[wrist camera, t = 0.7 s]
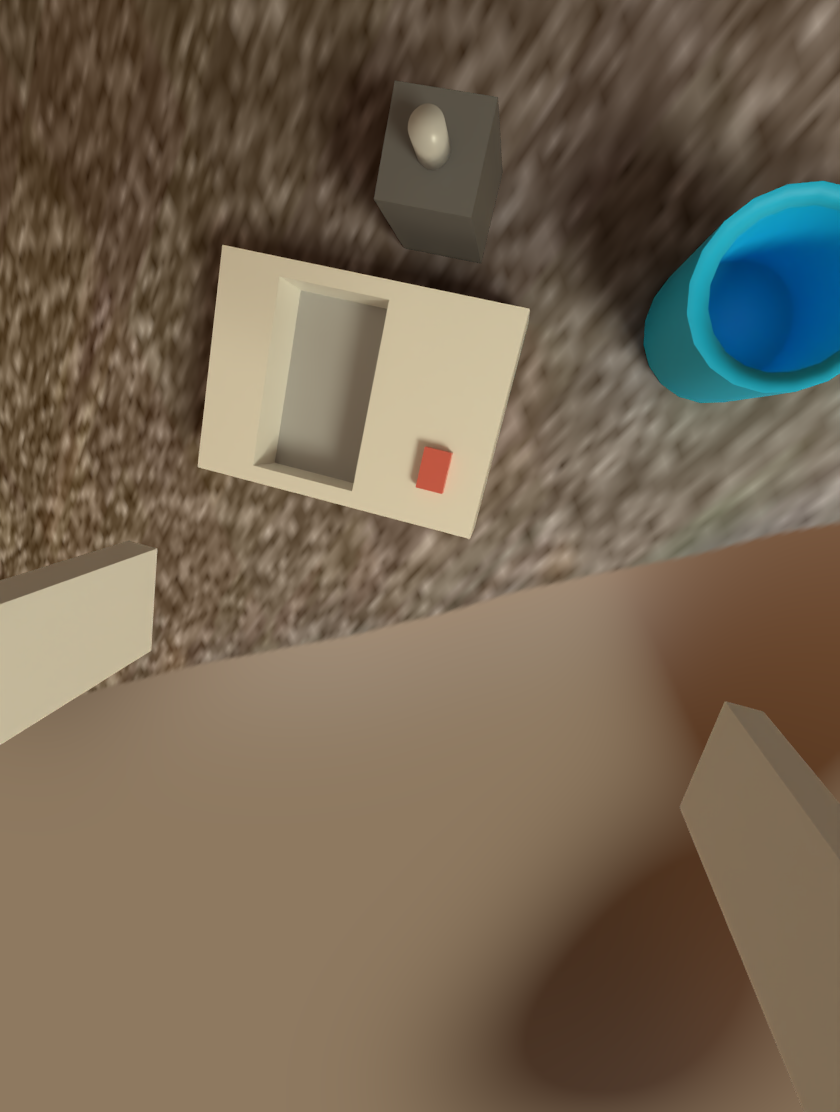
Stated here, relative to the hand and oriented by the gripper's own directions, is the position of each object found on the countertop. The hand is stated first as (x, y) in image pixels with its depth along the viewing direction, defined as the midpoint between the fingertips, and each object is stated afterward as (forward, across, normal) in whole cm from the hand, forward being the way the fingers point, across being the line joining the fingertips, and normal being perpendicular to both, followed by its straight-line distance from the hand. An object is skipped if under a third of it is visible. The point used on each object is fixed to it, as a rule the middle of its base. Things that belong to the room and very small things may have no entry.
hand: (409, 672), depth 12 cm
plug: (+24, -6, +16) cm, 30 cm away
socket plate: (+24, -9, +5) cm, 26 cm away
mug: (+24, +12, +14) cm, 31 cm away
